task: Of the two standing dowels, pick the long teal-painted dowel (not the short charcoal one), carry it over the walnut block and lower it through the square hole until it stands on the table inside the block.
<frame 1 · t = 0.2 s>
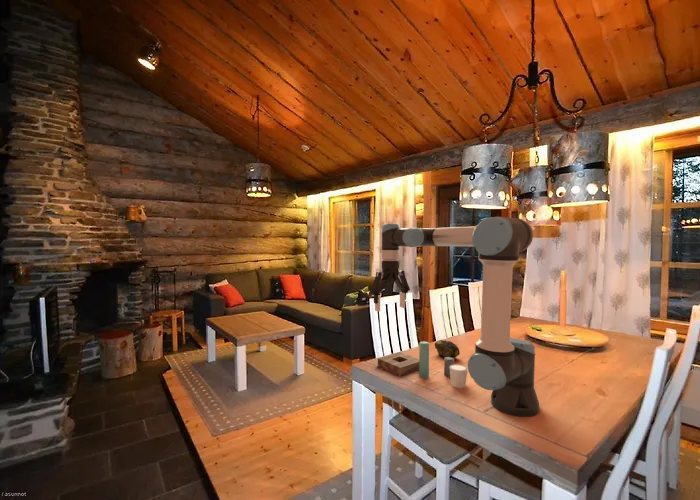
hand: (390, 309, 149), 27 cm above the table, fingers open, 13 cm apart
long dowel: (423, 375, 146), on the table
shot glass: (458, 385, 137), on the table
short dowel: (449, 375, 146), on the table
rock: (447, 357, 168), on the table
hole block: (399, 367, 155), on the table
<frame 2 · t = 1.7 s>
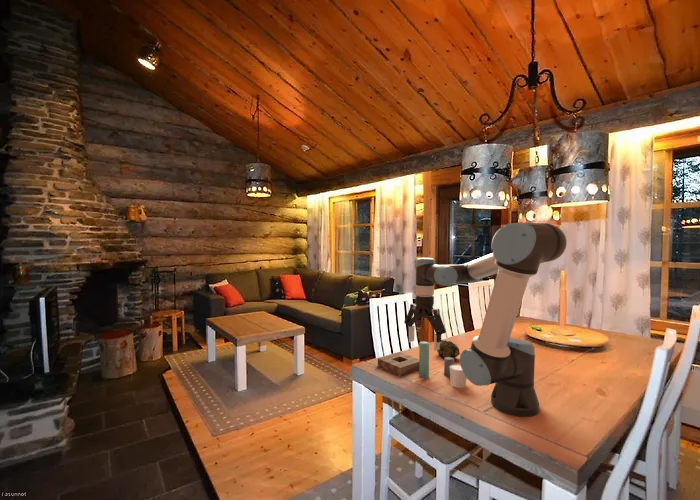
hand: (423, 345, 145), 13 cm above the table, fingers open, 13 cm apart
nothing on the table moved.
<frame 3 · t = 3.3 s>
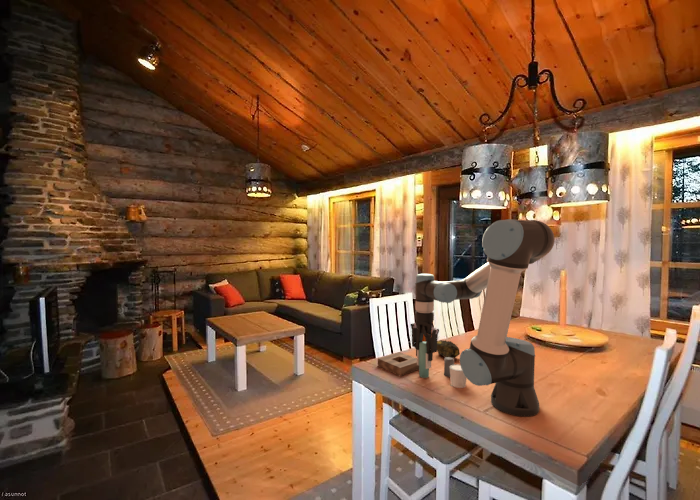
hand: (424, 366, 145), 4 cm above the table, fingers closed on long dowel, 4 cm apart
long dowel: (423, 375, 146), on the table, touching gripper
everything else where it was.
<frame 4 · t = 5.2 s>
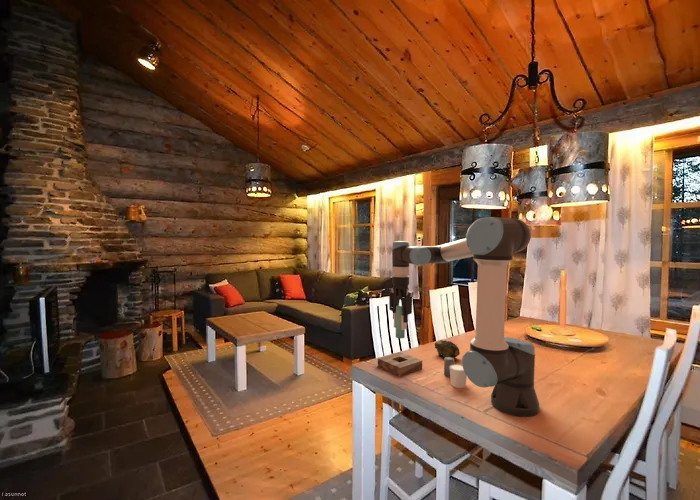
hand: (400, 328, 155), 18 cm above the table, fingers closed on long dowel, 4 cm apart
long dowel: (400, 337, 155), point 14 cm above the table, touching gripper
everything else where it was.
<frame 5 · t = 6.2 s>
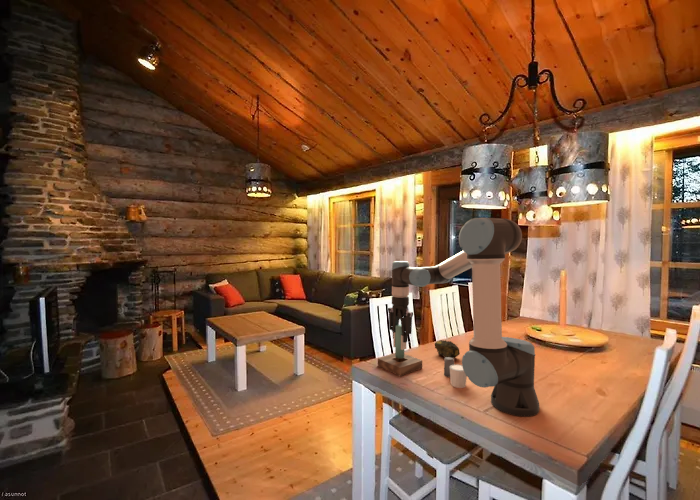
hand: (399, 347, 155), 9 cm above the table, fingers closed on long dowel, 4 cm apart
long dowel: (399, 356, 155), point 5 cm above the table, touching gripper
everything else where it was.
when the fingers open (5 cm above the table, at t = 7.2 s): long dowel stays where it is, resting in hole block.
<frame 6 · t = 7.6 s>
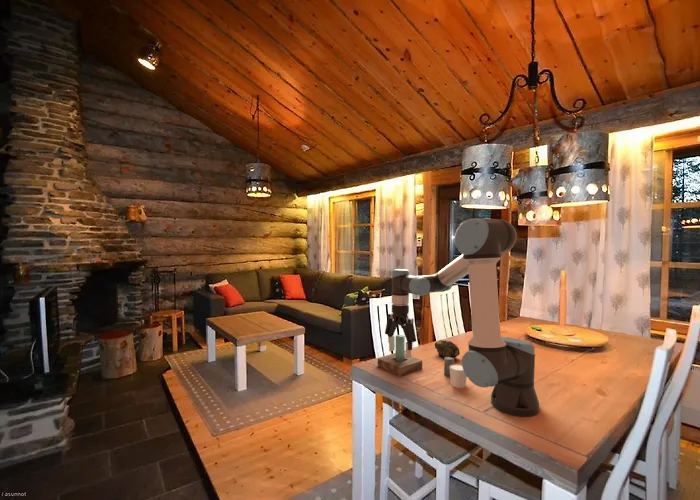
hand: (399, 353, 155), 6 cm above the table, fingers open, 9 cm apart
long dowel: (399, 367, 155), resting in hole block
everything else where it was.
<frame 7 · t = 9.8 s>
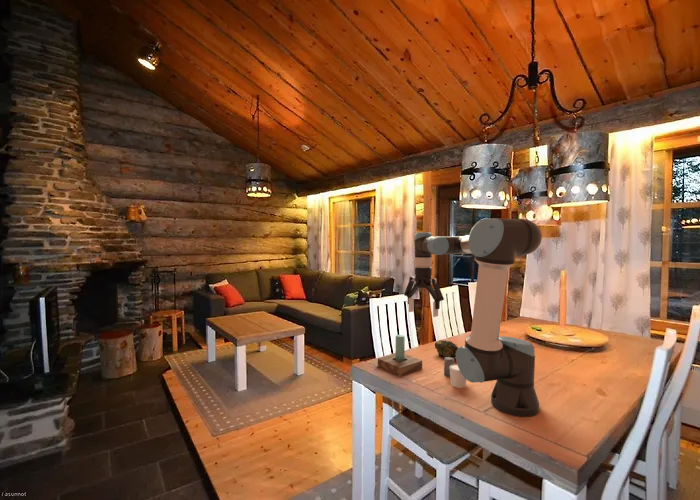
hand: (423, 314, 156), 24 cm above the table, fingers open, 13 cm apart
nothing on the table moved.
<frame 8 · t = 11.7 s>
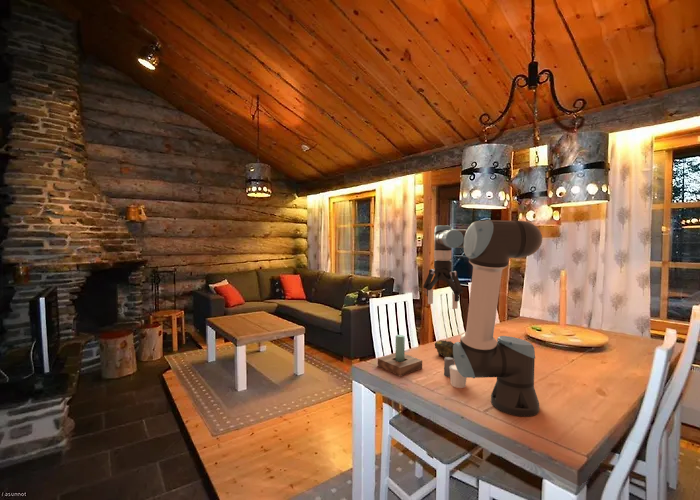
hand: (442, 306, 158), 27 cm above the table, fingers open, 13 cm apart
nothing on the table moved.
at the end: long dowel 0.1 cm off-centre on the hole block, point 0.0 cm above the hole block's base; long dowel tilted 0°; short dowel moved 0.0 cm from its start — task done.
